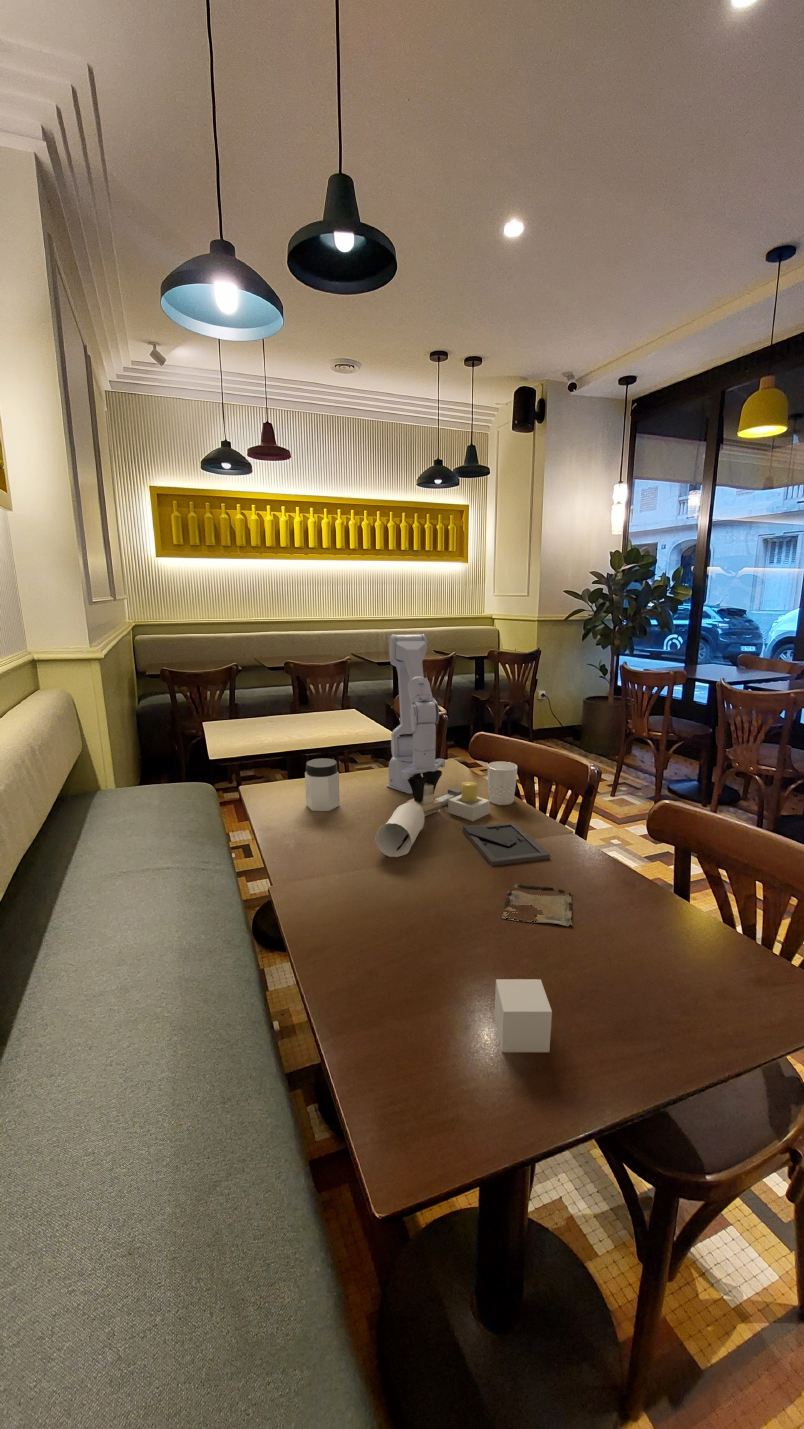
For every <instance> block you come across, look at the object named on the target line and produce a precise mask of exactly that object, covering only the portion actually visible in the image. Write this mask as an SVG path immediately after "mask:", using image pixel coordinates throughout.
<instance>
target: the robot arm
mask: <svg viewBox="0 0 804 1429" xmlns="http://www.w3.org/2000/svg"><path fill="white" fill-rule="evenodd" d="M427 650H428V640H427V637H426V635H425V634H424V633H420V634H419V633H417V634H395V633H394V634H391V635H390V637H389V640H388V651H389V661H390V665H392V666H394V667H396V672H397V678H398V681H397V682H398V698H399V699H398V700H399V719H400V722H399V723H400V724H398V726H396V728H394V729H393V730H392V732H391V737H390V738H391V740H390V751H391V755H392V756H391V759H390V760H389V763H388V784H386V787H388V788H391V789H394V790H397V791H400V792H403V793H405V794H409V795H411V794H412V795H413V799H414V800H415V801H417V802H422V800H423V790H424V785H425V783H428V784H431V785H433V796H434V795H435V791H436V788H437V784H438V782H439V780H440V778H441V777H442V775H443V771H442V770H439V768H445V767H446V759H444V758H436V739H437V738H436V735H437V734H436V733H437V730H436V729H437V728H436V727H437V726H436V725H437V724H438V723H439V719H440V710H439V704H438V702H437V701H436V698H435V697H433V693H432V688H431V685H430V684H431V683H430V681H429V680H428V679H427V678H425V677H424V668H423V667H424V666H423V661H424V659H425V656H426V654H427ZM401 735H402V736H401Z"/></svg>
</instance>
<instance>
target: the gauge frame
mask: <svg viewBox="0 0 804 1429" xmlns="http://www.w3.org/2000/svg"><path fill="white" fill-rule="evenodd" d="M447 805H448V807H447V808H448V809H447V813H448V814H451V815H454V816H457V817H460V818H463V819H466V820H468V821H472V822H475V821H477V820H478V819H482V817H485V816H487V815H489V814H491V812H490V809H491V802H490V800H489V799H487V798H483V797H479V796H477V800H476V801H474V802H466V801H463V800H462V799H461V795H459V796H456V797H454V798H451V799H449V800H448V804H447Z"/></svg>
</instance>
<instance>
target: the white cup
mask: <svg viewBox="0 0 804 1429" xmlns="http://www.w3.org/2000/svg"><path fill="white" fill-rule="evenodd" d="M517 776H518V765H517V764H516V763H514V762H511V761H492V762H489V763H488V764H487V792H488V800H490V804H494V805H498V806H499V805H500V806H508V805H512V804H513V803H514V802H515V792H516V785H517Z"/></svg>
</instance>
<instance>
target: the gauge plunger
mask: <svg viewBox="0 0 804 1429" xmlns="http://www.w3.org/2000/svg"><path fill="white" fill-rule="evenodd" d="M461 791H462V792H461V799H462V800H463V801H466V802H474V801H476V800H477V797H478V783H477V782H475V781H462V782H461Z"/></svg>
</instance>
